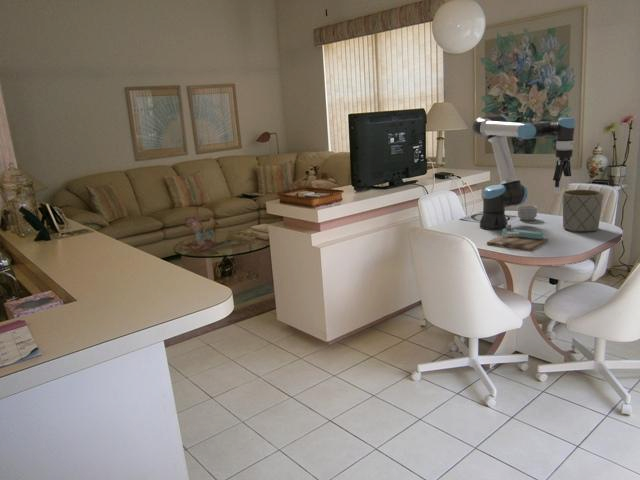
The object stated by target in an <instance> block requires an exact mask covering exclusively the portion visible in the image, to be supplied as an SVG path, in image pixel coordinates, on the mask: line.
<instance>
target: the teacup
mask: <svg viewBox="0 0 640 480" xmlns="http://www.w3.org/2000/svg"><path fill="white" fill-rule="evenodd" d="M516 209H517V216H518V218H519V219H520V221H521V220H522V221H533V220H534V219H535V218H537V215H538V206H537V205H533V204H524V205H520V206H519V205H518V206H517V207H516Z"/></svg>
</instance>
